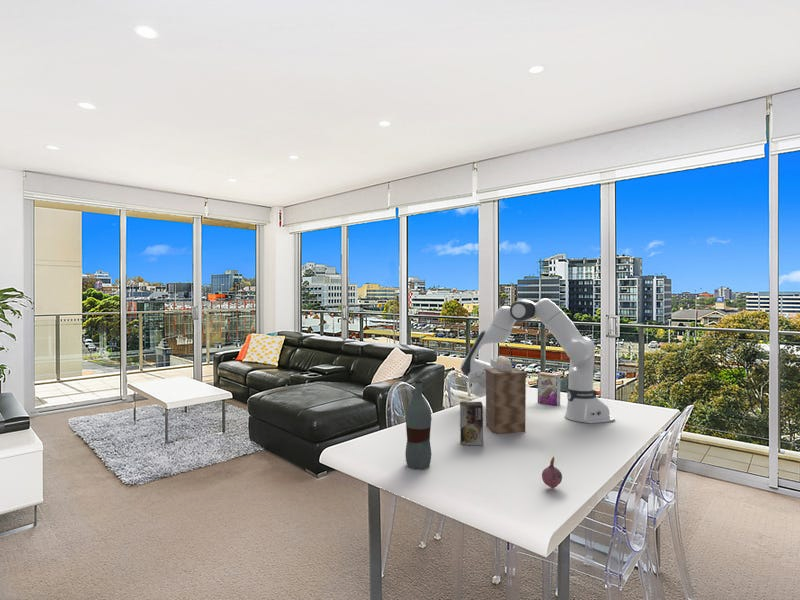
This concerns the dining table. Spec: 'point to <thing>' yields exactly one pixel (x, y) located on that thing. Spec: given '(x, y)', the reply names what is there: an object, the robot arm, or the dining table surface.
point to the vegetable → (551, 475)
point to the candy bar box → (549, 388)
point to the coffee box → (471, 423)
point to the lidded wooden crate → (505, 400)
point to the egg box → (502, 364)
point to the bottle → (418, 431)
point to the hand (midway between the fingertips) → (492, 371)
